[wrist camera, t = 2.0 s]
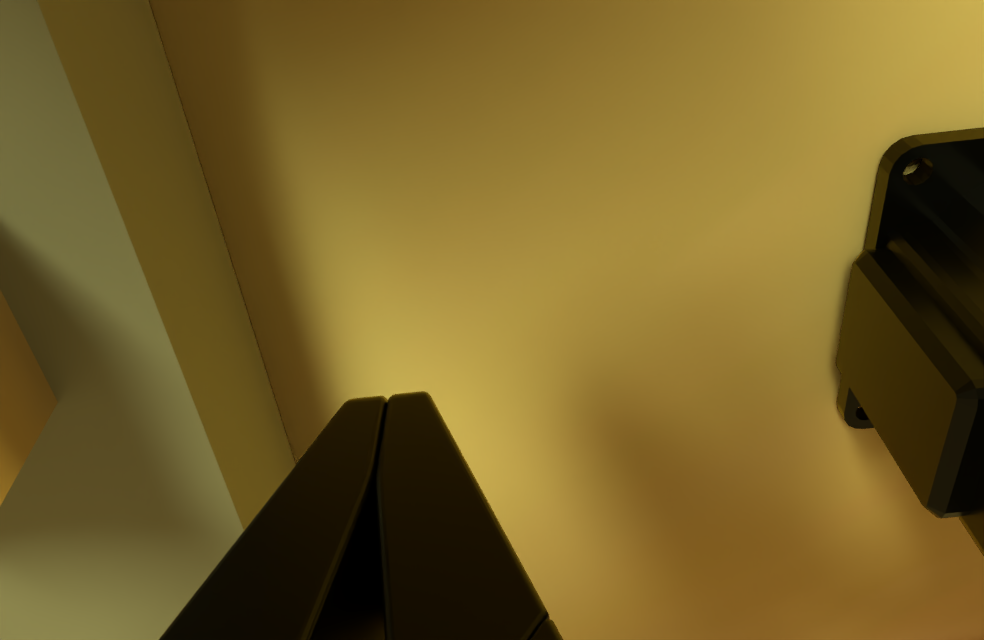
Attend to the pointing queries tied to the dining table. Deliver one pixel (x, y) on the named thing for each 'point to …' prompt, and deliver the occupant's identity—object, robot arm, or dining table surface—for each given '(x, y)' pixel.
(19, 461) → the maple block
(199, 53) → the dining table surface
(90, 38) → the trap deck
